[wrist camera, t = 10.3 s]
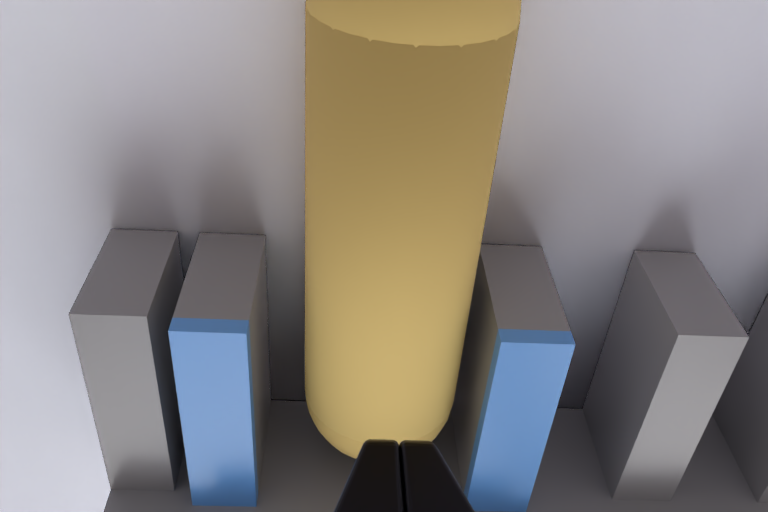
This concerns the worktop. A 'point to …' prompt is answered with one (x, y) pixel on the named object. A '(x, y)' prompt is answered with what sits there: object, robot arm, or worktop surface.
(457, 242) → the yellow rounded cylinder
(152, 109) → the worktop surface
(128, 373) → the slotted dish rack
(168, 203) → the worktop surface
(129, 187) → the worktop surface
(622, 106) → the worktop surface
